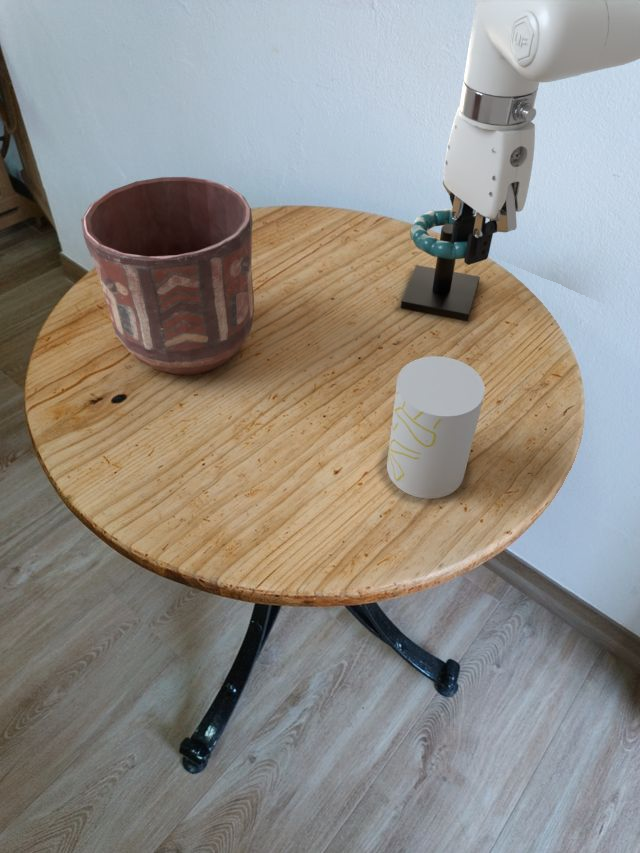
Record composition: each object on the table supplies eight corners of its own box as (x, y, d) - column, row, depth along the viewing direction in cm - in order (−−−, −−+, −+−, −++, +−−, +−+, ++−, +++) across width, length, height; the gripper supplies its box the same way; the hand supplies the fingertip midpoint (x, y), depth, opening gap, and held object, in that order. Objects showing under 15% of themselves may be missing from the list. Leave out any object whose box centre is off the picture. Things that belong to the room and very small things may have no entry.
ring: (495, 227, 90) (498, 213, 88) (482, 268, 83) (485, 253, 82) (419, 215, 92) (421, 201, 90) (402, 254, 85) (403, 239, 84)
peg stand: (478, 283, 96) (492, 217, 88) (467, 321, 90) (481, 253, 82) (415, 271, 98) (423, 205, 90) (400, 308, 92) (408, 241, 84)
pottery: (200, 285, 95) (181, 159, 82) (288, 343, 87) (283, 212, 73) (89, 344, 86) (49, 213, 73) (175, 415, 78) (147, 281, 65)
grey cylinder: (375, 449, 74) (383, 366, 66) (443, 432, 76) (460, 349, 68) (404, 507, 69) (418, 424, 60) (477, 487, 71) (500, 405, 62)
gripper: (578, 124, 68) (534, 280, 81) (479, 69, 78) (454, 217, 91) (518, 139, 65) (483, 298, 79) (423, 81, 75) (407, 231, 89)
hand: (468, 253), depth 85 cm, fingers closed on ring, 2 cm apart
